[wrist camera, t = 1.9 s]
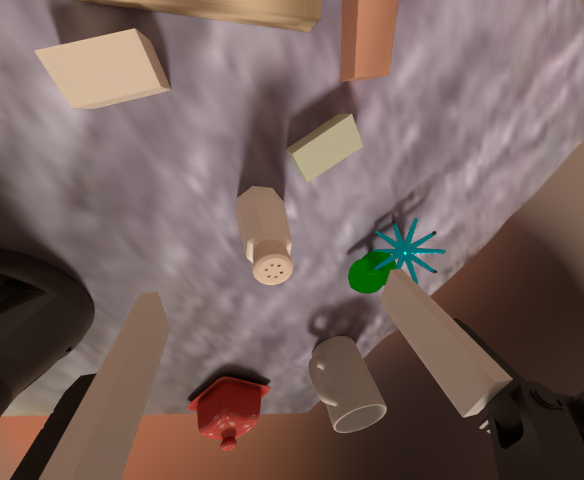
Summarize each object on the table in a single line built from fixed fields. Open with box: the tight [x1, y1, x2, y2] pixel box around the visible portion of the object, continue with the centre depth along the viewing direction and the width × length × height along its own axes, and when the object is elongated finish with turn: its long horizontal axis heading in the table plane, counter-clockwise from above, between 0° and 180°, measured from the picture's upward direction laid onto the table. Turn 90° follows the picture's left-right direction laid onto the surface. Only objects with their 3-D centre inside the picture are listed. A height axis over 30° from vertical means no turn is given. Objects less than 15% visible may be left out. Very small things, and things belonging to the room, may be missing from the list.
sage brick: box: [286, 113, 363, 183], centre depth 21 cm, size 6×3×3 cm, turn 120°
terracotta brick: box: [340, 0, 398, 82], centre depth 17 cm, size 6×3×3 cm, turn 5°
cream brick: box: [34, 28, 171, 109], centre depth 15 cm, size 6×3×3 cm, turn 102°
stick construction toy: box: [348, 218, 446, 294], centre depth 29 cm, size 12×7×8 cm
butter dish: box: [187, 376, 270, 451], centre depth 38 cm, size 12×12×8 cm
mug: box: [309, 336, 387, 433], centre depth 36 cm, size 12×8×11 cm
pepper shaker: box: [236, 186, 294, 285], centre depth 19 cm, size 5×5×11 cm
